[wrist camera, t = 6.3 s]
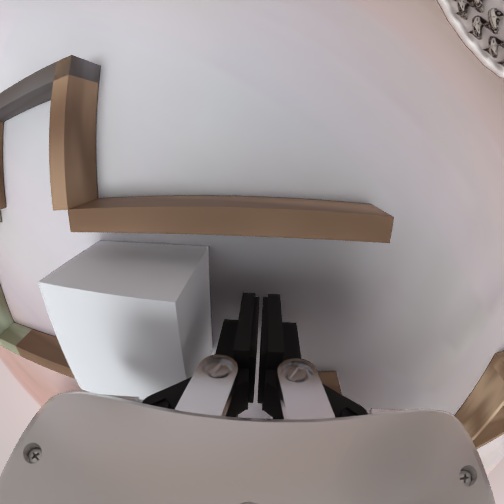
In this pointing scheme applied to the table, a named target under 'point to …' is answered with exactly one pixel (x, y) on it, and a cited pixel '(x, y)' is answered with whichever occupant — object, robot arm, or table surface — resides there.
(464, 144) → the table surface
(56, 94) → the zigzag wooden frame
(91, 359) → the block
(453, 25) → the white patterned cylinder
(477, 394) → the rectangular wooden frame
